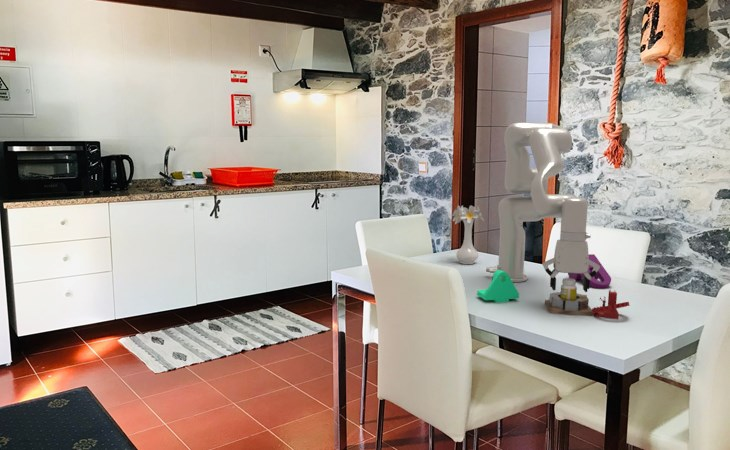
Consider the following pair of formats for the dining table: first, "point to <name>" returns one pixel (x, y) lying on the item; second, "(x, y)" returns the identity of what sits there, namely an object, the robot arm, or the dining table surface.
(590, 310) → the block
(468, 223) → the flower vase
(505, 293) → the camera mount
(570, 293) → the supplement bottle
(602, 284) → the mounting bracket
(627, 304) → the red toothed piece
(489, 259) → the dining table surface
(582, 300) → the hub
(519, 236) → the robot arm
